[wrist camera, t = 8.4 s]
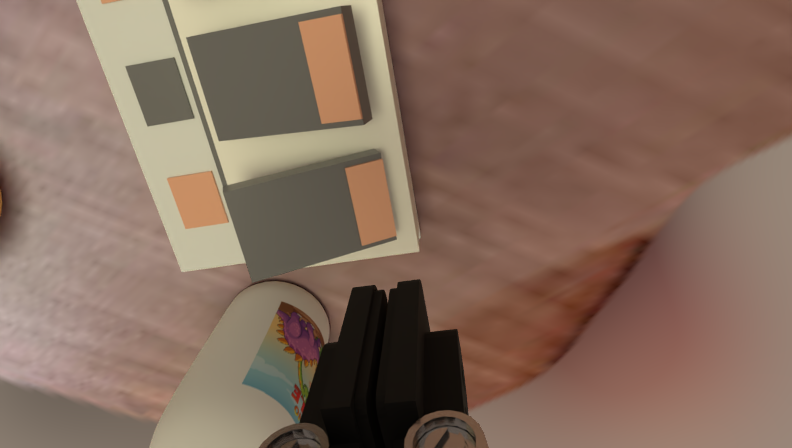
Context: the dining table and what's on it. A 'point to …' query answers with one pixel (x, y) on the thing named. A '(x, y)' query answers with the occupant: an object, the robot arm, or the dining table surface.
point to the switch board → (160, 141)
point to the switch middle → (283, 75)
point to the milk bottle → (248, 371)
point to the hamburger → (0, 202)
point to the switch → (311, 213)
